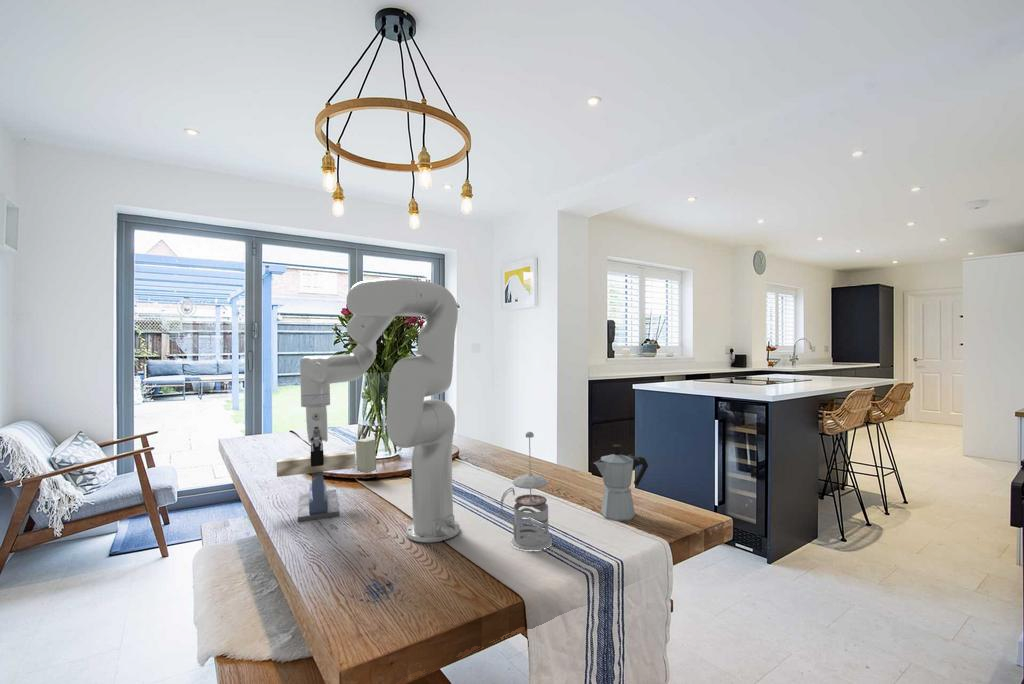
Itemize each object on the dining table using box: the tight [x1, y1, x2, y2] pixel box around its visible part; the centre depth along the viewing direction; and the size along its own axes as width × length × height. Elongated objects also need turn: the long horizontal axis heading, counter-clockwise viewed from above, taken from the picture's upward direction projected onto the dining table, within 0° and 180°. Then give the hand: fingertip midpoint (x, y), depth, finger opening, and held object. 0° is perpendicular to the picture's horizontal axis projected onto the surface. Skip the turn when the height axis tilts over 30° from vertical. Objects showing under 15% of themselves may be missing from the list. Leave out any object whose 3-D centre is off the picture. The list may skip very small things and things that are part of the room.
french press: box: [500, 431, 553, 550], centre depth 108 cm, size 10×12×25 cm
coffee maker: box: [593, 444, 649, 522], centre depth 124 cm, size 15×9×18 cm, turn 102°
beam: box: [276, 451, 356, 478], centre depth 134 cm, size 20×3×4 cm, turn 112°
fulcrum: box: [297, 472, 340, 523], centre depth 134 cm, size 20×10×10 cm, turn 22°
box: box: [355, 438, 377, 473], centre depth 161 cm, size 5×4×13 cm
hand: (317, 461), depth 134 cm, fingers open, 9 cm apart
